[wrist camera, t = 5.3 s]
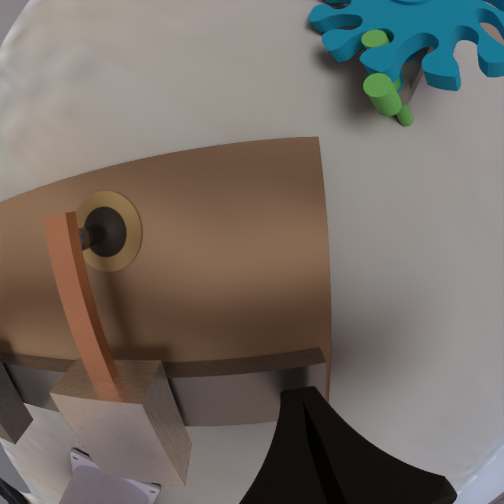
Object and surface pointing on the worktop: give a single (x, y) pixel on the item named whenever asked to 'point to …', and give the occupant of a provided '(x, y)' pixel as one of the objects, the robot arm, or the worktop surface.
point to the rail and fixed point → (174, 387)
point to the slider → (111, 379)
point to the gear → (410, 44)
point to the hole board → (180, 256)
